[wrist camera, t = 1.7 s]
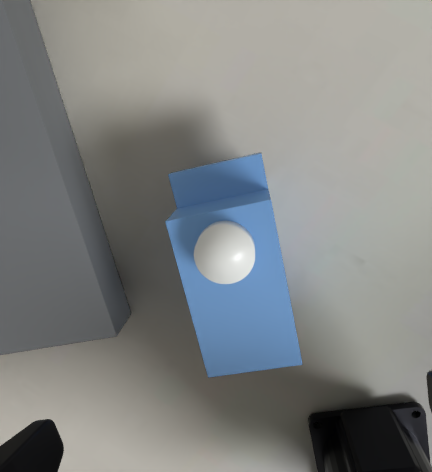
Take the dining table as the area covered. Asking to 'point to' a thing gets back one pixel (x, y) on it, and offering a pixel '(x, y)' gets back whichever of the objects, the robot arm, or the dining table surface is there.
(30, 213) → the plate
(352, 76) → the dining table surface
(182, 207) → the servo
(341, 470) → the robot arm
